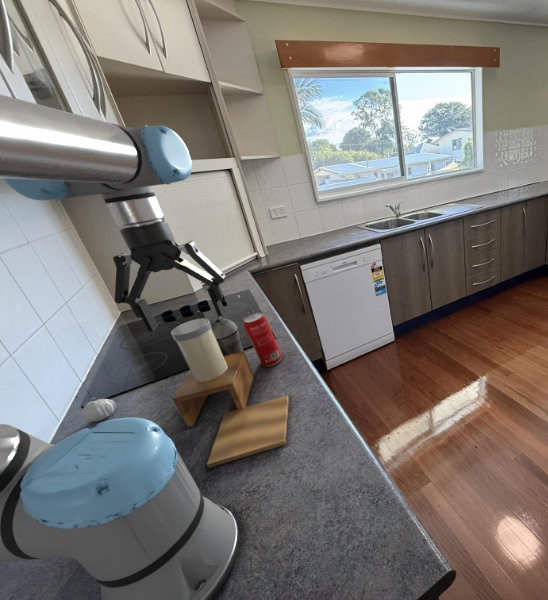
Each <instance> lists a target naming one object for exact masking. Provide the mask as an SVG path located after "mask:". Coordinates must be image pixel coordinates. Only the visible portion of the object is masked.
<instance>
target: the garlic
mask: <svg viewBox="0 0 548 600" xmlns="http://www.w3.org/2000/svg"><path fill="white" fill-rule="evenodd" d="M116 409H117V406H116V402H115V401H113V400H112V399H110V398H100V399H96V400H93V401H89V402H87V403H85V405H84V406H83V409H82V410H81V415H82V417H83V418H84V419H85V420H86V421H88V422H100V421H103V420H105V419H107V418H109V417H110V416H111V415H112V414H113V413H114V412H115V410H116Z"/></svg>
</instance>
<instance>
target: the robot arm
mask: <svg viewBox="0 0 548 600" xmlns="http://www.w3.org/2000/svg"><path fill="white" fill-rule="evenodd" d="M192 170H193V162H192V158H191V156H190V151H189V149H188V147H187V145H186V144H185V141H184V140H183V139H182V138H181V137H180V135H178V133H176V132H175V131H174V130H173V129H171V128H170V127H167V126H165V125H160V124H158V125H147V124H145V125H142V126H140V127H128V126H126V125H125V126H124V125H121V124H116V123H113V122H109V121H103V120H100V119H96V118H92V117H89V116H84V115H81V114H77V113H73V112H69V111H65V110H61V109H57V108H54V107H50V106H47V105H43V104H40V103H36V102H31V101H27V100H23V99H20V98H15V97H12V96H8V95H5V94H0V179H3V180H4V182H5V183H6V184H7V185H8V186H9V187H10V188H11V189H12V190H14V191H15V192H16V193H18V194H19V195H21V196H23V197H25V198H28V199H31V200H35V201H53V200H54V201H57V202H59V201H61V200H66V199H73V198H81V197H82V198H83V197H88V196H95V195H96V196H97V195H101V197H102V199H103V201H104V203H105V204H106V206H107V209H108V210H109V213H110V215H111V217H112V219H113V220H114V223H115V225H116V226H118V227H121V229H120V230H119V233H120V235H121V237H122V238H123V241H124V243H125V245H126V247H128V249H129V250H130V253H126V252H125V253H124V252H121V253H119V254H116V255H114V256H113V257H112V260H113V263H114V265H115V267H116V268H115V286H114V287H115V289H114V302H115V304H118V305H119V304H127V305H128V306H130V308H131V310H132V312H133V314H134V315H135V317H136V318H138V319H139V318H141V320H142V321H143V323H144V325H145V327H146V329H147V331H148V333H152V332H155V331H156V329H157V328H158V327H159V323H158V322H157V320H156V318H155V316H154V314H153V312H152V310H151V308H150V306H149V303H148V302H147V300H146V298H142V297H141V296H142V293H143V291H144V288H145V287H146V284H147V282H148V279H149V277H150V275H151V273H158V272H161V271H169V270H172V269H176V270H178V271H181V272H184V273H185V274H187V275H189V276H191V277H193V278H194V279H196V280H198V281H200V282H201V283H203V284H204V285H206V286H208V287H207V288H206V291H207V293H208V295H209V298H210V300H211V303H212V305H213V307H214V309H215V312H216V315H217V317H218V318H219V317H220V316H221V317H223V315H225V312H226V310H225V308H224V305H223V303H222V300H223V299H224V293H223V291H222V288H221V285H220V284H223V283H224V281H225V280H226V279H227V275H226V274H225V273H224V272H223V271H222V270H220V268H218V267H217V265H216V264H214V263H213V262H212V261H211V260H210V259H209V258H208V257H207V256H206V255H205V254H203V252H201V251H200V249H199V247H198V245H197V244H196V242H195V241H194V240H189V241H187V242H186V243H183V244H178V243H177V242H176V240H175V236H174V235H173V232H172V230H171V227H170V226H169V223H168V222H167V221H166V220H163V219H164V218H165V214H164V212H163V209H162V207H161V204H160V203H159V200H158V197H157V196H156V193H155V192H154V190H153V186H161V185H168V186H169V185H171V184H173V183H178V182H183V181H185V180H187V179H188V178H189V177H190V176H191V174H192ZM182 252H184V253H185V254H186V255H188V256H189V257H190V258H191V259H192V260H194V261H195V263H197V264H198V265H199V267H201V268H202V269H204V270H205V271H204V270H202V269H201V268H199V267H197V266H196V265H193V264H192V263H190V262H189V261H188V260H187V259H185V258H184V257H182V256H181V254H182ZM133 262H135V263H136V264H137V265H139V268H138V271H137V273H136V277H135V279H134V282H133V284H132V287H131V289H130V280H131V279H130V278H131V264H132V263H133ZM129 290H130V291H129ZM141 298H142V299H141ZM240 545H241V532H240V527H239V524H238V522H237V521H236V519H235V517H234V515H233V514H232V512H231V511H230V510H228V508H226V507H224V506H222V505H220V504H218V503H214V502H212V501H211V500H210V499H209V498H207V497H205V496H204V495H203V494H202V492H201V491H200V489H199V487H198V486H197V484H196V482H195V480H194V478H193V476H192V474H191V473H190V471H189V469H188V468H187V465H186V464H185V462H184V460H183V458H182V457H181V455H180V453H179V451H178V449H177V447H176V446H175V443H174V441H173V440H172V439H171V438H170V437H169V436H168V435H167V434H166V433H165V431H164V430H163V429H162V428H161V426H159V425H158V424H157V423H156V422H154V421H152V420H150V419H147V418H142V417H130V416H129V417H119V418H113V419H109V420H105V421H102V422H99V423H97V424H96V426H94V427H92V428H88V427H85V428H83V429H80V430H79V431H77V432H74V433H72V434H70V435H69V436H67V437H65V438H63V439H62V440H60V441H58V442H57V443H55V444H54V443H50V442H46V441H44V440H42V439H40V438H38V437H36V436H33V435H31V434H29V433H27V432H25V431H23V430H22V429H19V428H17V427H15V426H12V425H10V424H5V423H0V563H5V562H17V561H18V562H19V561H31V560H32V561H33V560H45V559H58V558H59V559H60V558H69V559H73V560H75V561H76V562H78V563H79V564H80V565H81V567H83V568H84V569H85V570H86V571H87V572H88V573H89V574H90V575H91V577H93V578H94V580H95V581H96V582H97V583H98V584H99V586H100V595H101V600H213V599H214V598H215V597H216V595H217V594H218V592H219V591H220V590H221V588H222V587H223V586H224V584H225V582H226V581H227V579H228V577H229V575H230V574H231V572H232V570H233V567H234V565H235V563H236V560H237V557H238V554H239V550H240Z"/></svg>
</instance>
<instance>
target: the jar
mask: <svg viewBox="0 0 548 600" xmlns="http://www.w3.org/2000/svg"><path fill="white" fill-rule="evenodd" d="M211 324H212V323H211V322H210V320H209V319H208V318H205V317H204V318H196V319H191V320H189V321H188V320H187V321H186V322H184V323H181V324H179V325H177V326H176V327H174V328H173V329H172V330H171V331H170V335H171V337H172V339H173V340H174V341H175V342H176V345H177V347H178V348H179V350H180V353H181V354H182V356H183V358H184V360H185V363H186V364H187V367H188V368H189V371H191V373H192V375H193V377H194V379H195V380H196V381H197V382H207V381H210V380H213V379H215V378H217V377H219V376H221V375H222V374H223V373H224V372H225V371H226V370H227V368H228V366H227V363H226V361H225V359H224V356H223V354H222V352H221V349H220V347H219V345H218V342H217V340H216V338H215V336H214V333H213V331H212V329H211Z"/></svg>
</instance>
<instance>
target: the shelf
mask: <svg viewBox="0 0 548 600" xmlns="http://www.w3.org/2000/svg"><path fill="white" fill-rule="evenodd" d="M224 359H225V361H226V363H227V366H228V368H227V370H226V371H225V372H224V373H223V374H222V375H221V376H219V377H217V378H215V379H213V380H210V381H207V382H197V381H196V380H195V379H194V377H193V375H192V373H191V371H190V370H188V372H187V374H186V375H185V377H184V379H183V381H182V382H181V384H180V386H179V388H178V389H177V390H176V392H175V394H174V396H173V397H172V401H173V403H174V404H175V406H176V409H177V410H178V412H179V413H180V415H181V417H182V419H183V422H185V425H186V426H187V428H189V427H193V426H194V425H195V423H196V421H197V418H198V417H199V414H200V412H201V409H202V408H203V405H204V403H205V401H206V398H207V396H208V395H213V394H216V393H219V392H223V391H226V390H228V391H229V393H230V396H231V398H232V400H233V402H234V405H235V407H236V410H238V409H241V408H245V407H247V403H248V399H249V396H250V392H251V391H250V390H251V388H252V385H253V381H254V377H255V376H254V373H253V370H252V368H251V365H250V363H249V361H248V357H247V355H246V353H245V351H244V350H243V351H242V352H238V353H234V354H230V355H226V356H224Z"/></svg>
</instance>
